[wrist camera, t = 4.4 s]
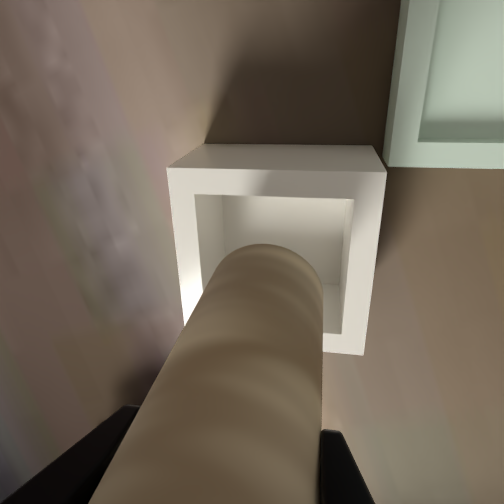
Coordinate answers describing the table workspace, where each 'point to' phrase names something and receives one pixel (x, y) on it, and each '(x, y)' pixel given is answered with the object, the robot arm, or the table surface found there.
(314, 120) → the table surface
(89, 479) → the robot arm
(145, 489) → the dowel
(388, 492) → the table surface
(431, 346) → the table surface
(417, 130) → the tray
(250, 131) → the table surface
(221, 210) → the white square tube
